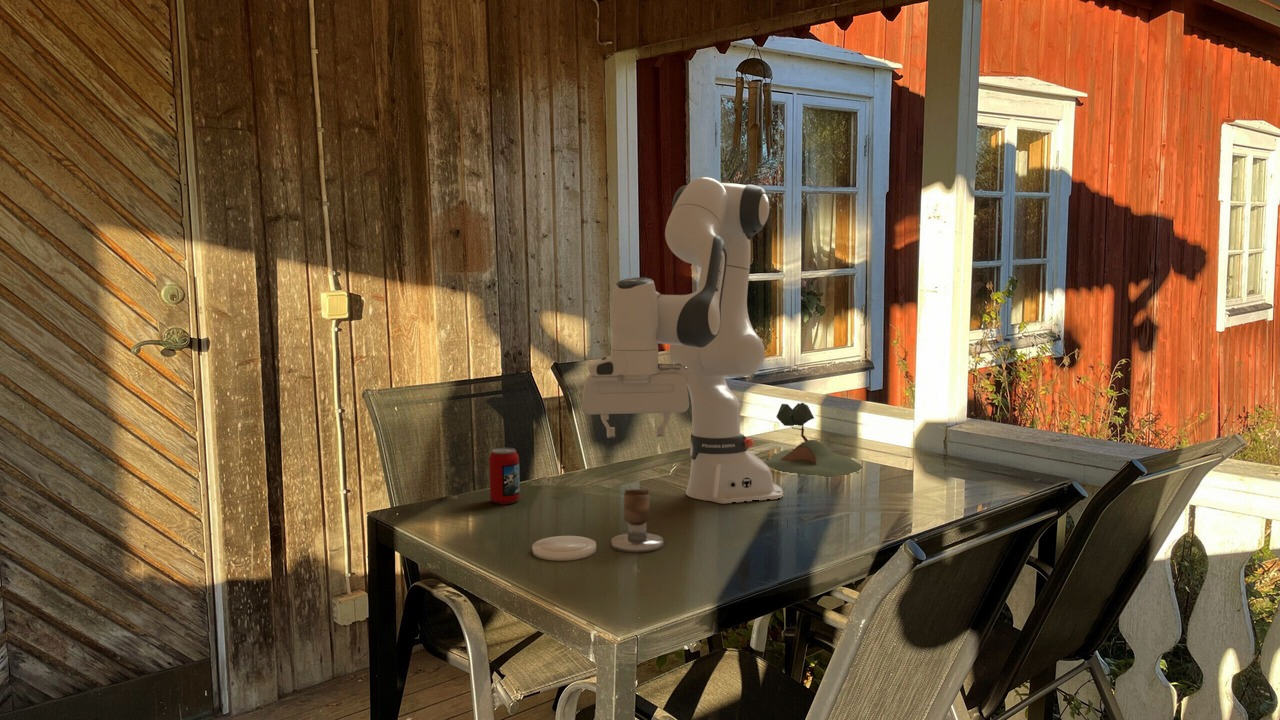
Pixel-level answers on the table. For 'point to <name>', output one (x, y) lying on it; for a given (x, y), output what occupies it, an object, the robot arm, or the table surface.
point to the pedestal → (637, 540)
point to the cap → (636, 505)
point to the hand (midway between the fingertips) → (635, 436)
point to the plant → (808, 450)
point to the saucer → (564, 548)
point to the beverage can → (504, 476)
